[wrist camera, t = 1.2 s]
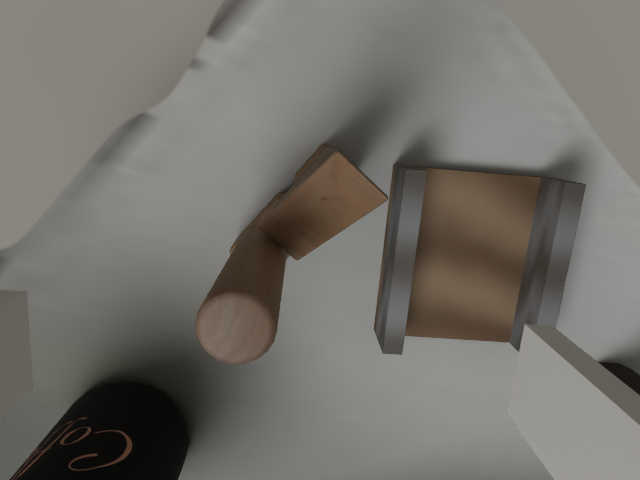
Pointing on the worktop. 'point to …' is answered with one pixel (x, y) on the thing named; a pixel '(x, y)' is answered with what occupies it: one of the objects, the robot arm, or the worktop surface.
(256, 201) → the worktop surface
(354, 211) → the brown upright wooden piece
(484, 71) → the worktop surface
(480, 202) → the metal-railed wooden board
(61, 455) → the coffee jar
